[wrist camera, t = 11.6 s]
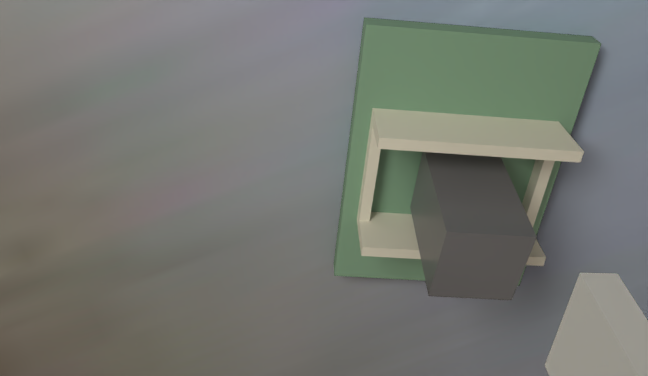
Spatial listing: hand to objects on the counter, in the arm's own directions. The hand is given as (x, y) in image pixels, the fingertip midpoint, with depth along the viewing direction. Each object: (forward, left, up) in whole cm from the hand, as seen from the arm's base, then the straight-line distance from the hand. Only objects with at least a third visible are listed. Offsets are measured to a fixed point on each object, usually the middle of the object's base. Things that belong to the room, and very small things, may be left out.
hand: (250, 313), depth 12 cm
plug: (+8, +10, -20) cm, 24 cm away
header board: (+8, +10, -21) cm, 25 cm away
